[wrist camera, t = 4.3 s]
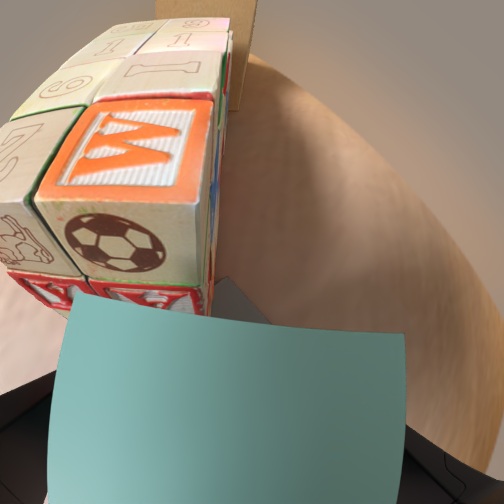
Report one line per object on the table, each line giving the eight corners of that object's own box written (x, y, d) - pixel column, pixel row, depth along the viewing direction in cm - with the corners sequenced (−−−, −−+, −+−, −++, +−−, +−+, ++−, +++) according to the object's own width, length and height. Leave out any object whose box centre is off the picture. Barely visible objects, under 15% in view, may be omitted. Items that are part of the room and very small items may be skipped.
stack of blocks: (164, 116, 25) (159, -1, 14) (228, 118, 25) (240, -2, 15) (101, 346, 14) (-59, 203, 3) (211, 357, 14) (198, 196, 4)
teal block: (255, 466, 12) (370, 590, 1) (166, 455, 11) (57, 567, 1) (263, 386, 14) (404, 333, 4) (176, 375, 14) (75, 291, 3)
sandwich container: (243, 60, 34) (258, -31, 21) (241, 112, 27) (264, -26, 14) (184, 58, 33) (189, -33, 20) (158, 109, 26) (155, -27, 13)
